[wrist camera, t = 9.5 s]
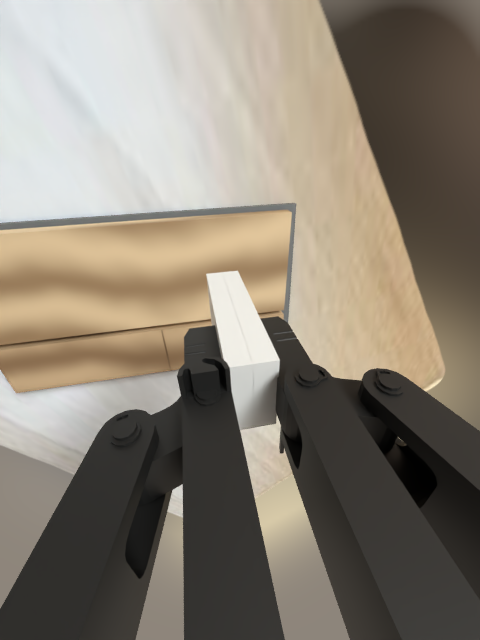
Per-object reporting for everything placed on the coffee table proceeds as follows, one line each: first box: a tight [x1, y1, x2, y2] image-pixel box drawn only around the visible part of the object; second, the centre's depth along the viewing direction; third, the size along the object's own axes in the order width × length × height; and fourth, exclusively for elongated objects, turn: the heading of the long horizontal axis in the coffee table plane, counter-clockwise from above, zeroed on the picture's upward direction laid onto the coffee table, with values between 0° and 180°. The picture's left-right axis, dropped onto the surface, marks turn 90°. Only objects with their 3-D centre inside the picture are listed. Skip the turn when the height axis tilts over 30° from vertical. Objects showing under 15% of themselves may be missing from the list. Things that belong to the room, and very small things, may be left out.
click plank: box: [0, 210, 292, 345], centre depth 25 cm, size 10×29×1 cm, turn 92°
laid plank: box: [0, 310, 284, 393], centre depth 29 cm, size 6×29×1 cm, turn 92°
